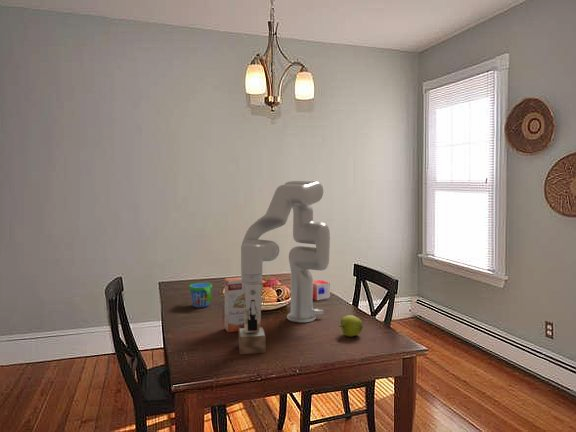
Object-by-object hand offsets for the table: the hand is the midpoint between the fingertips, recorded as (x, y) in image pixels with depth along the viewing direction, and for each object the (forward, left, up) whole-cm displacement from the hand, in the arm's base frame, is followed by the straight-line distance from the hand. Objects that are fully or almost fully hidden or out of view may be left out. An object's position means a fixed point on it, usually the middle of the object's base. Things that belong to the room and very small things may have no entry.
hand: (251, 327), depth 164 cm
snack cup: (+20, -57, -8) cm, 61 cm away
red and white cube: (-39, -65, -8) cm, 76 cm away
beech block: (0, 0, -1) cm, 1 cm away
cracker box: (+2, -22, -8) cm, 23 cm away
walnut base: (0, 0, -8) cm, 8 cm away
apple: (-39, -8, -8) cm, 41 cm away
